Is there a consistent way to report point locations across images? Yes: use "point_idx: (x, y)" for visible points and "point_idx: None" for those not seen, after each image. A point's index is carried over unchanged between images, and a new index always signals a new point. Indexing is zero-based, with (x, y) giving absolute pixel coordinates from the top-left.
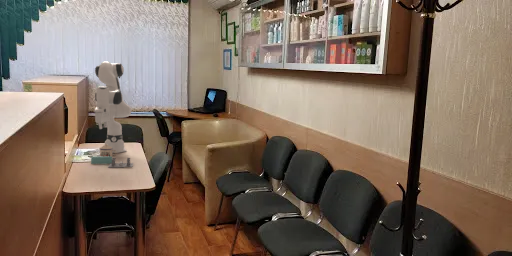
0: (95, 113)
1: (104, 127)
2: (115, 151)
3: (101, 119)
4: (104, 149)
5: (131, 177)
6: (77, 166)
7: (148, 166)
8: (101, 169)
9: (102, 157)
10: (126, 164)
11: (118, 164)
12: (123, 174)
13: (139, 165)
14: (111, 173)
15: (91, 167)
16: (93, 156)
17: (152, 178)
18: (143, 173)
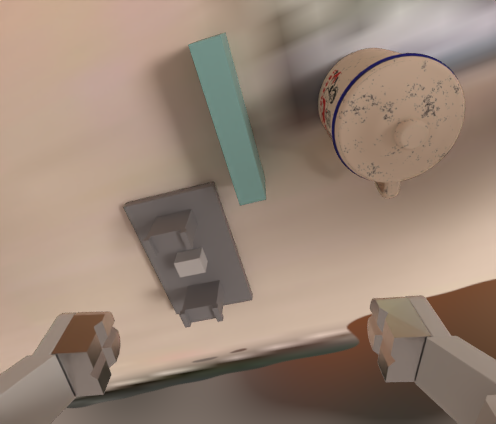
0: None
1: (370, 309)
2: (384, 195)
3: None
4: (332, 131)
5: (15, 342)
6: None
7: (232, 357)
8: (75, 178)
9: (219, 140)
10: (210, 279)
11: (195, 242)
12: (41, 305)
13: (241, 322)
14: (26, 254)
15: (91, 95)
16: (219, 54)
17: None
18: None
